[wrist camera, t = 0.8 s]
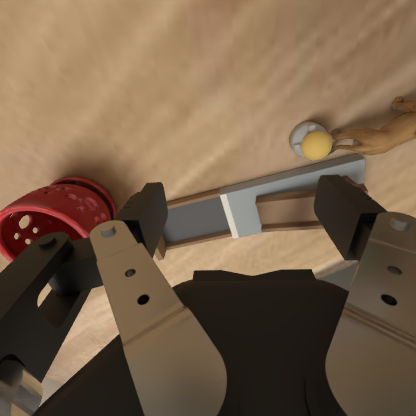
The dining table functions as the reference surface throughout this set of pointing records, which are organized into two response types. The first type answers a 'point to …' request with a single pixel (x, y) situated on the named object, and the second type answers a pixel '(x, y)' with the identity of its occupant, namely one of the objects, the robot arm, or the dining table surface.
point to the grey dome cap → (303, 135)
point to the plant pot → (55, 213)
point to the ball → (316, 145)
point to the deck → (281, 190)
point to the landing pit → (193, 222)
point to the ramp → (291, 210)
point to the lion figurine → (382, 132)
